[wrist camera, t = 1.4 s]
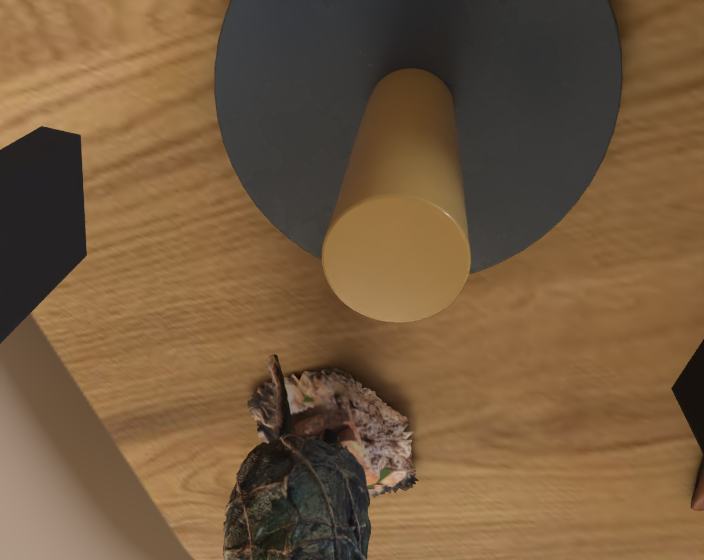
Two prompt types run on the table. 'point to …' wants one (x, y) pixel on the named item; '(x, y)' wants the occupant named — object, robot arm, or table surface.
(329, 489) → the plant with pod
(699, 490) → the sunglasses case
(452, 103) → the lid
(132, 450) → the table surface
